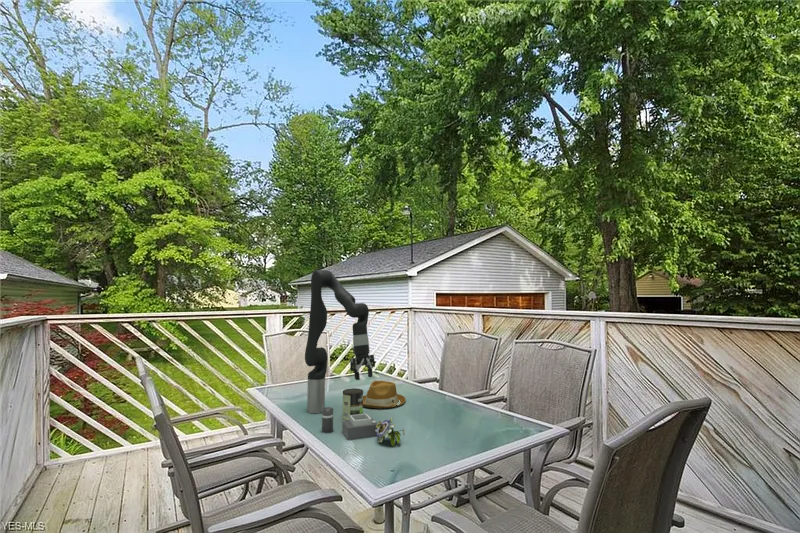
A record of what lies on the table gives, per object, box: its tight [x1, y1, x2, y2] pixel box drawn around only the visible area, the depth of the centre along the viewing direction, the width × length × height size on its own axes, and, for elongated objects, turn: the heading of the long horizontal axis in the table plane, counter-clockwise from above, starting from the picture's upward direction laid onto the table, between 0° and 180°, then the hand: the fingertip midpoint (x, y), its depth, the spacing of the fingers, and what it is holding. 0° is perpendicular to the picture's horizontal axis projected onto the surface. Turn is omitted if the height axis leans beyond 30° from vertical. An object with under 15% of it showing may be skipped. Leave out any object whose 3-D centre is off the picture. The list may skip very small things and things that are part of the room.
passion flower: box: [375, 417, 406, 448], centre depth 169 cm, size 11×11×12 cm
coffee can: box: [342, 387, 364, 421], centre depth 199 cm, size 10×10×14 cm
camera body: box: [341, 413, 379, 441], centre depth 178 cm, size 10×14×8 cm
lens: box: [321, 406, 334, 434], centre depth 182 cm, size 5×5×10 cm
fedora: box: [363, 380, 407, 410], centre depth 228 cm, size 27×29×12 cm
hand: (364, 378), depth 190 cm, fingers open, 8 cm apart
